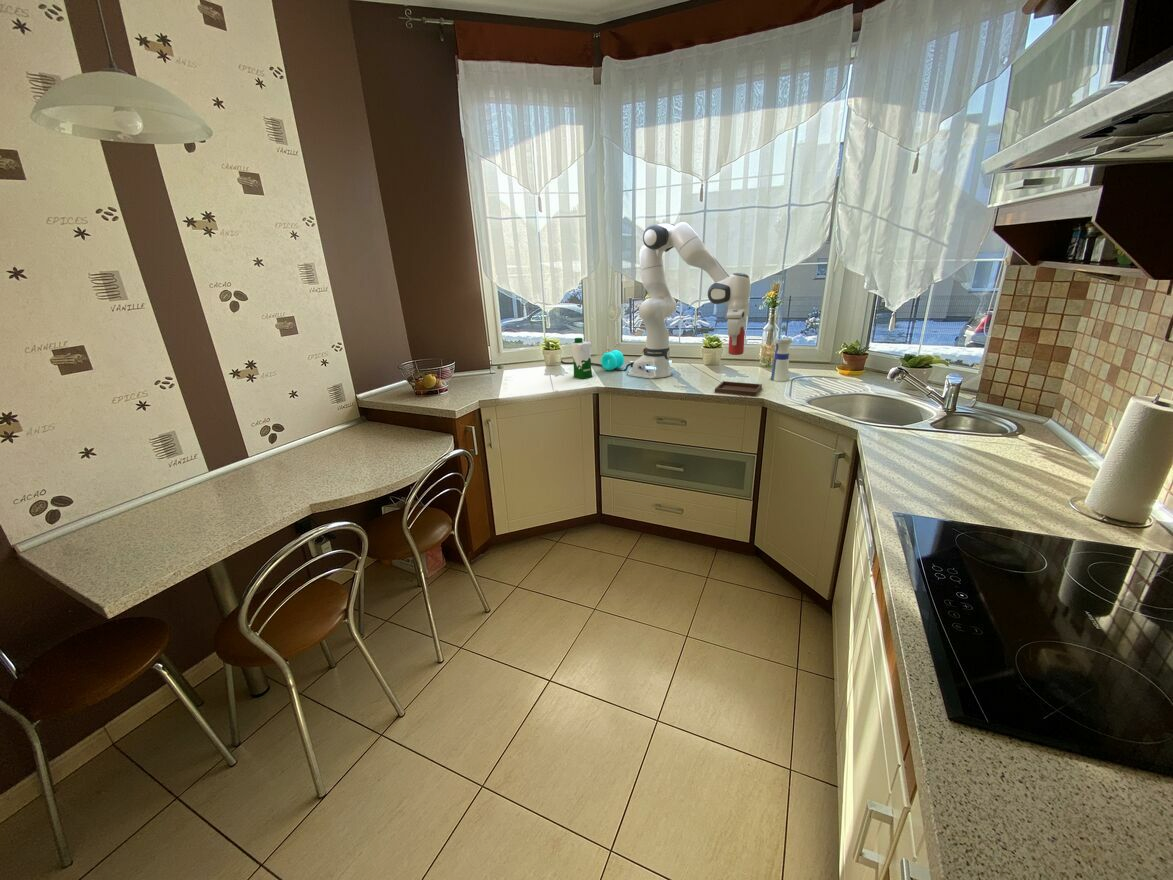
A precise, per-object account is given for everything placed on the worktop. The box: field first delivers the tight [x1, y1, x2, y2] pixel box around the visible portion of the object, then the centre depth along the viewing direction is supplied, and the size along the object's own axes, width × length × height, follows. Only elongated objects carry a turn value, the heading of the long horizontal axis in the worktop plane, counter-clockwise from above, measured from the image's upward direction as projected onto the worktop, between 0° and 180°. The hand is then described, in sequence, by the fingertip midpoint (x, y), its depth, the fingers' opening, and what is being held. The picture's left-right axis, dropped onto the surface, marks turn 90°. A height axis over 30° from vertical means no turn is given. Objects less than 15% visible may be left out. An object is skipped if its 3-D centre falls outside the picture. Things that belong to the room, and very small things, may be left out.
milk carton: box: [570, 337, 593, 380], centre depth 247 cm, size 9×9×20 cm
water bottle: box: [770, 325, 793, 382], centre depth 224 cm, size 8×9×25 cm
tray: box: [714, 380, 763, 398], centre depth 213 cm, size 18×14×2 cm
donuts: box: [600, 349, 625, 372], centre depth 262 cm, size 10×10×10 cm
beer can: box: [727, 327, 746, 356], centre depth 214 cm, size 7×7×12 cm
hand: (736, 343), depth 215 cm, fingers closed on beer can, 6 cm apart
